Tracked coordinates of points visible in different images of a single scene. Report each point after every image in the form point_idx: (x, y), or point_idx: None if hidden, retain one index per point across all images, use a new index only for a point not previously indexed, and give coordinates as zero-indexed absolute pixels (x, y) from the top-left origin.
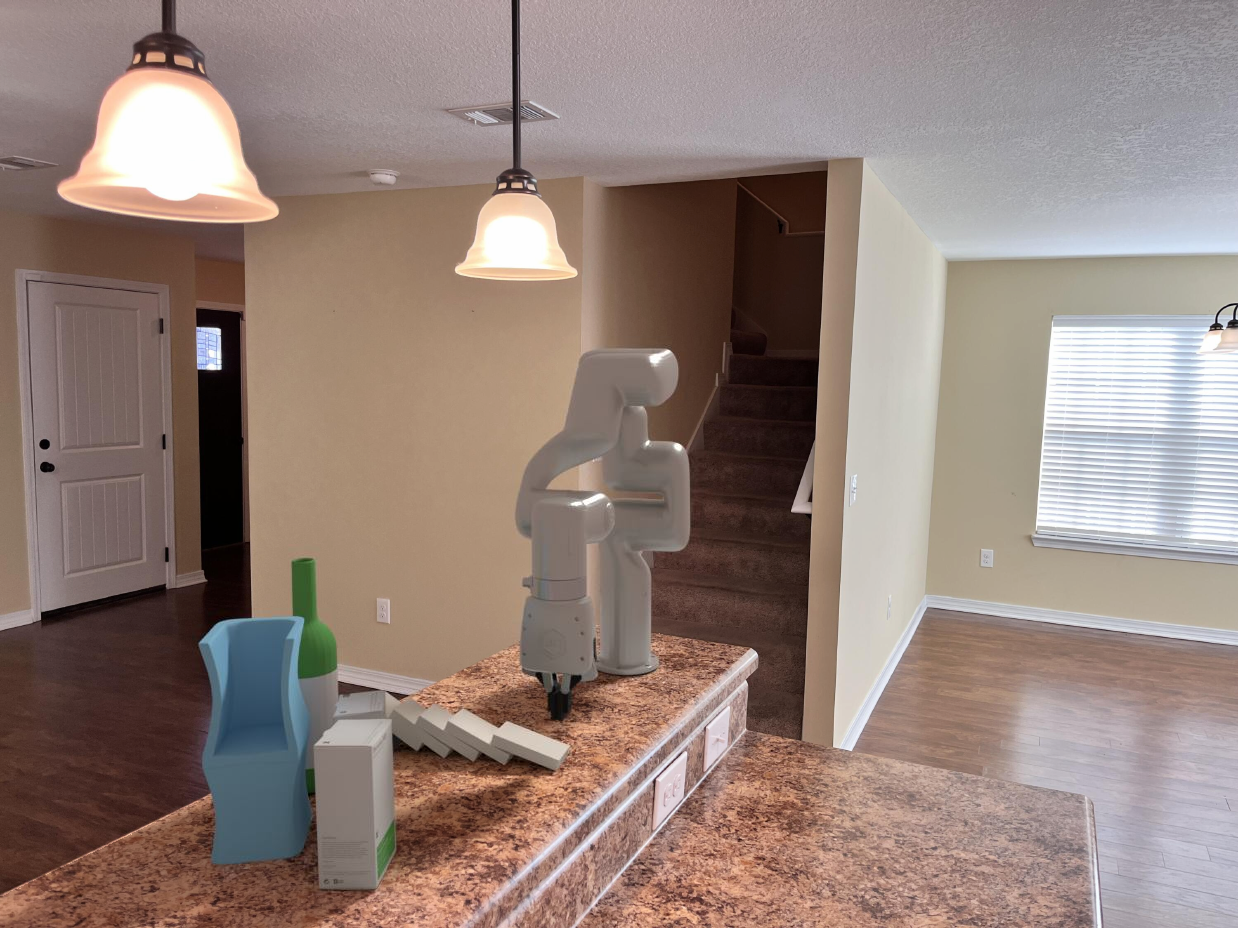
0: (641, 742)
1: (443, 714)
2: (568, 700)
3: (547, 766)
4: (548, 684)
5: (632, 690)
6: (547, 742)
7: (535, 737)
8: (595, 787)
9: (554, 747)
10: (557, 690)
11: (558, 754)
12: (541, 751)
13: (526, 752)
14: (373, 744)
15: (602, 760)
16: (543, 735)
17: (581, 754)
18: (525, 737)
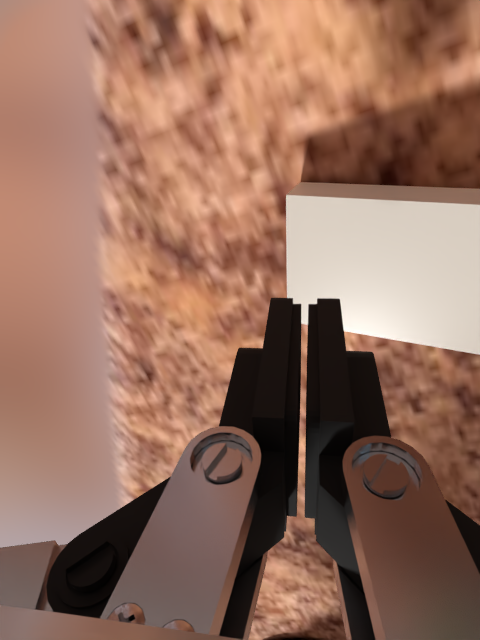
0: (135, 411)
1: None
2: (226, 404)
3: (336, 184)
4: (390, 502)
5: (265, 597)
6: (368, 299)
7: (426, 309)
8: (107, 89)
9: (332, 278)
10: (318, 476)
11: (302, 237)
12: (372, 216)
13: (443, 195)
14: None
15: (181, 297)
16: (397, 339)
17: (259, 320)
18: (473, 285)
